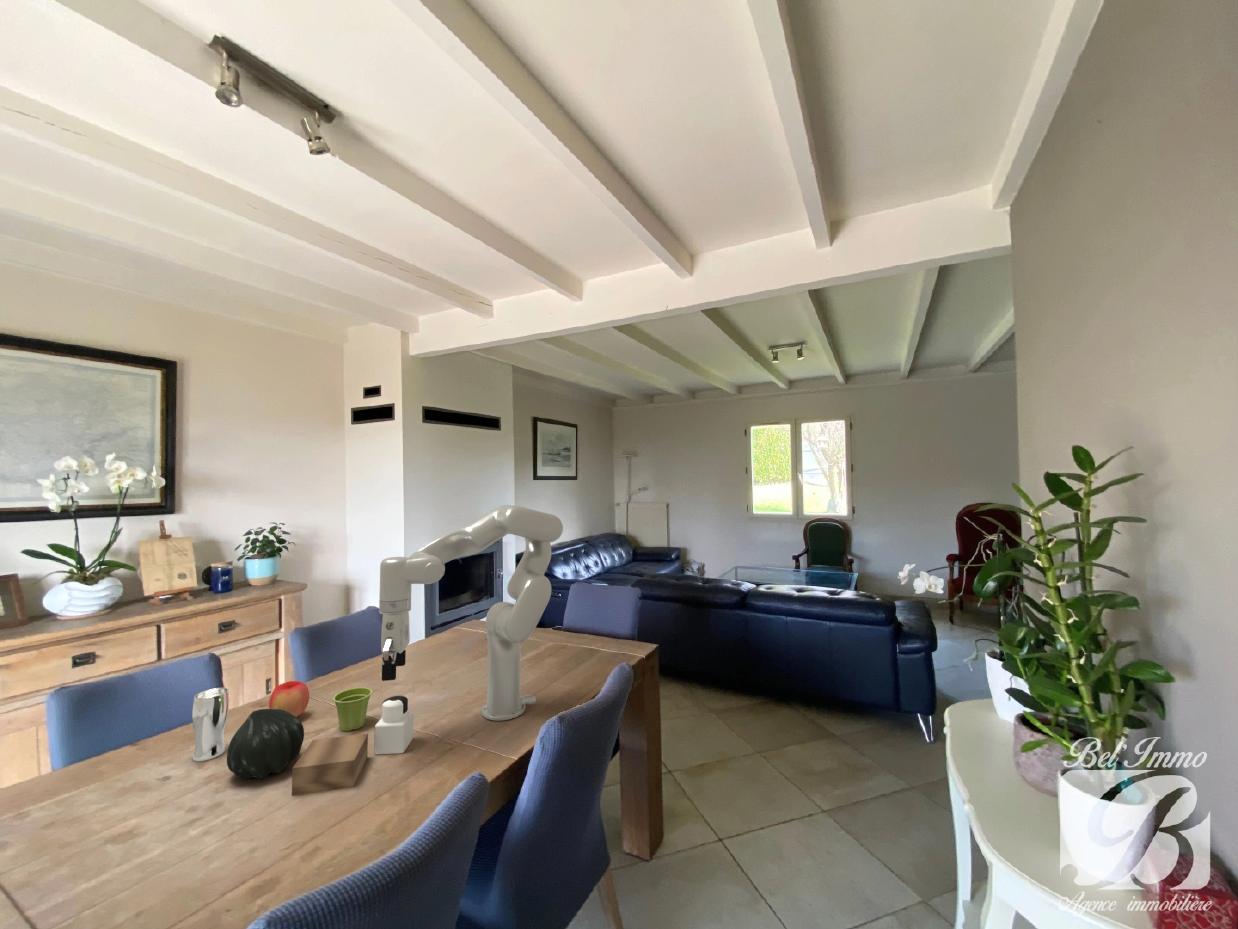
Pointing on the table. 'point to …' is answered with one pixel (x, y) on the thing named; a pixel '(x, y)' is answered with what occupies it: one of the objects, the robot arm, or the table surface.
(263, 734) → the squash
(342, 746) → the walnut block
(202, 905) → the table surface
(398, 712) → the medicine bottle
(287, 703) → the apple
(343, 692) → the plant pot
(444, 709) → the table surface
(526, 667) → the table surface
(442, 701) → the table surface
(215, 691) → the silver metal vase
